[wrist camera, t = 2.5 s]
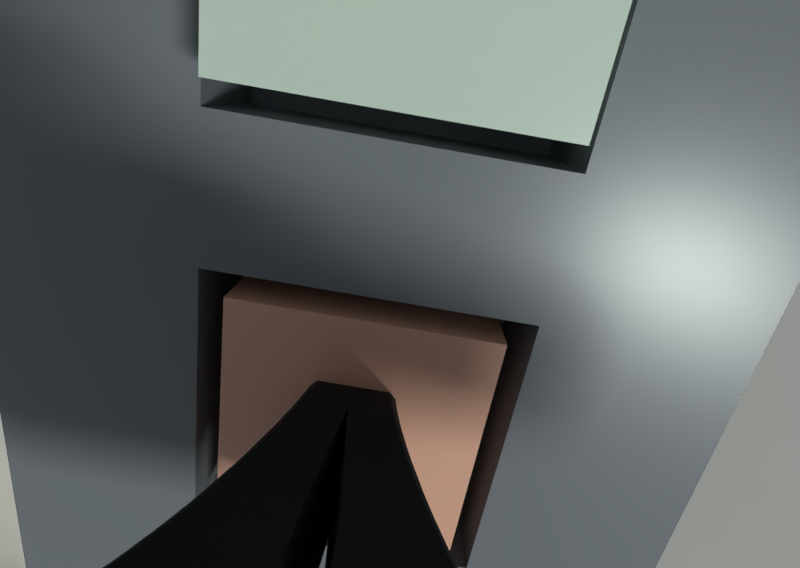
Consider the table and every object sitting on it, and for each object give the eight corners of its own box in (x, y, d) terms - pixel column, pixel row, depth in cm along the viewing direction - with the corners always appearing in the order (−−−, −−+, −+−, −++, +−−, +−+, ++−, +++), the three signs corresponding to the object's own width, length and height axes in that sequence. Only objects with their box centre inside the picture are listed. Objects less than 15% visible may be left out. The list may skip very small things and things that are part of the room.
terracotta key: (490, 295, 9) (507, 345, 8) (445, 472, 11) (449, 550, 9) (263, 256, 9) (223, 297, 7) (251, 441, 11) (216, 512, 9)
